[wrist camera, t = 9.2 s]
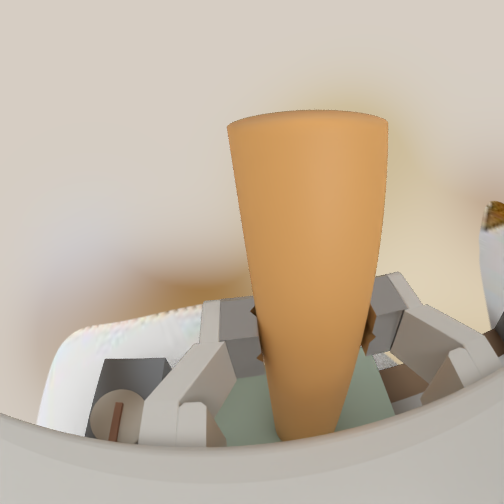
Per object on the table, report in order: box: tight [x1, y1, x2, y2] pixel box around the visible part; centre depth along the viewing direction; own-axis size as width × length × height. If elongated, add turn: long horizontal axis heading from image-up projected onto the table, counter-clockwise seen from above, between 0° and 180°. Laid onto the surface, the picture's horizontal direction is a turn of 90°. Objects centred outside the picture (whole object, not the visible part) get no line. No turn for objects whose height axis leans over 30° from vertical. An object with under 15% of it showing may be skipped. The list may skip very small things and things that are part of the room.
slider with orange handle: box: [214, 110, 395, 447], centre depth 9 cm, size 9×8×15 cm
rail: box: [85, 312, 504, 444], centre depth 13 cm, size 33×8×8 cm, turn 94°
